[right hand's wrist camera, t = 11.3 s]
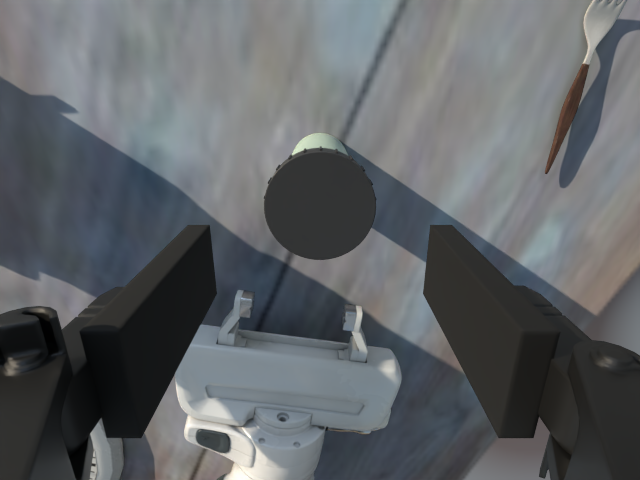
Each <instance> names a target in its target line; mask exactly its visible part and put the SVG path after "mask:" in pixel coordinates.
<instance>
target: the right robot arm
mask: <svg viewBox="0 0 640 480" xmlns="http://www.w3.org/2000/svg"><path fill="white" fill-rule="evenodd" d="M216 294H217V291H216V281H215V272H214V262H213V253H212V243H211V234H210V225H188V226H187V227H186V228H185V229H184V230H183V231H182V232H181V233H180V234H179V235H178V236H176V237H175V238H174V239H173V240H172V241H171V242H170V243H169V244H168V245H167V246H166V247H165V248H164V249H163V250H162V251H161V252H160V253H159V254H158V255H157V256H156V257H155V258H154V259H153V260H152V261H151V262H150V263H149V264H148V265H147V266H146V267H145V268H144V269H143V270H142V271H141V272H140V273H139V274H138V275H137V276H136V277H134V278H133V279H132V280H131V281H130V282H129V283H128V284H127V285H126V286H125V287H116V288H114V289H112V290H110V291H108V292H106V293H104V294H102V295H100V296H99V297H98V298H97V299H95V300H94V301H93V302H92V303H91V304H90V305H89V306H88V308H85V309H84V310H83V311H82V312H81V313H80V314H79V315H78V317H76V318H74V319H73V320H72V321H71V322H70V323H69V324H68V325H67V326H66V327H64V328H63V329H61V326H60V322H59V319H58V315H57V311H55V310H54V309H52V308H50V307H42V306H36V307H25V308H21V309H17V310H12V311H8V312H6V313H3V314H0V480H90V473H91V466H92V459H93V452H94V449H93V442H92V439H91V435H90V433H91V432H92V431H93V429H94V428H95V426H96V425H97V423H98V422H99V420H100V419H101V418H102V422H103V426H104V430H105V434H106V438H142V436H143V434H144V432H145V430H146V428H147V426H148V424H149V422H150V420H151V418H152V417H153V415H154V413H155V411H156V409H157V407H158V405H159V403H160V401H161V399H162V397H163V396H164V394H165V392H166V390H167V388H168V386H169V384H170V382H171V380H172V378H173V376H174V374H175V373H176V371H177V369H178V367H179V365H180V363H181V361H182V359H183V357H184V355H185V353H186V352H187V350H188V348H189V346H190V344H191V342H192V340H193V338H194V336H195V334H196V332H197V331H198V329H199V327H200V325H201V323H202V321H203V319H204V317H205V315H206V313H207V311H208V310H209V308H210V306H211V304H212V302H213V300H214V298H215V296H216ZM423 294H424V296H425V298H426V300H427V302H428V304H429V306H430V308H431V310H432V311H433V313H434V315H435V317H436V319H437V321H438V323H439V325H440V327H441V329H442V331H443V332H444V334H445V336H446V338H447V340H448V342H449V344H450V346H451V348H452V350H453V352H454V353H455V355H456V357H457V359H458V361H459V363H460V365H461V367H462V369H463V371H464V373H465V374H466V376H467V378H468V380H469V382H470V384H471V386H472V388H473V390H474V392H475V394H476V396H477V397H478V399H479V401H480V403H481V405H482V407H483V409H484V411H485V413H486V415H487V417H488V418H489V420H490V422H491V424H492V426H493V428H494V430H495V432H496V434H497V436H498V438H533V437H534V434H535V430H536V426H537V422H538V418H539V417H540V418H541V420H542V421H543V423H544V424H545V425H546V427H547V428H548V430H549V431H550V435H549V439H548V442H547V446H546V450H545V453H544V457H543V461H542V464H541V468H540V474H539V477H542V478H545V477H546V473H547V470H548V469H549V471H550V478H551V480H640V356H639V355H638V354H636V353H635V352H633V351H630V350H628V349H626V348H624V347H621V346H619V345H615V344H611V343H608V342H604V341H594V340H591V339H590V338H589V337H588V336H587V335H585V334H584V333H583V332H582V331H581V330H580V329H579V328H578V327H577V326H575V325H574V324H573V323H572V322H571V321H570V320H569V319H568V318H566V317H565V316H562V313H561V312H560V311H559V310H558V309H556V308H555V307H552V304H551V303H550V302H549V301H548V300H546V299H545V298H544V297H543V296H542V295H541V294H539V293H537V292H535V291H533V290H531V289H529V288H527V287H525V286H514V285H513V284H512V283H511V282H510V281H509V280H508V279H507V278H506V277H504V276H503V275H502V274H501V273H500V272H499V271H498V270H497V269H496V268H495V267H494V266H493V265H492V264H491V263H490V262H489V261H488V260H487V259H486V258H485V257H484V256H483V255H482V254H481V253H480V252H479V251H478V250H477V249H476V248H475V247H474V246H473V245H472V244H471V243H470V242H469V241H468V240H467V239H466V238H465V237H464V236H462V235H461V234H460V233H459V232H458V231H457V230H456V229H455V228H454V227H453V226H452V225H430V234H429V243H428V253H427V262H426V272H425V281H424V291H423Z"/></svg>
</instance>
